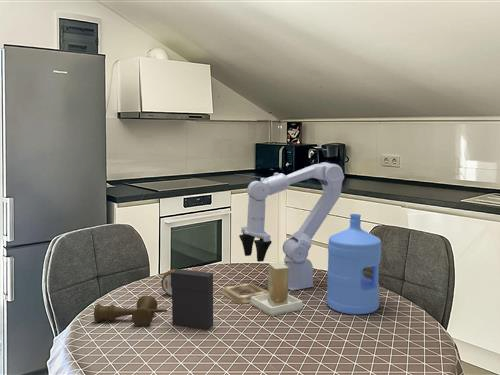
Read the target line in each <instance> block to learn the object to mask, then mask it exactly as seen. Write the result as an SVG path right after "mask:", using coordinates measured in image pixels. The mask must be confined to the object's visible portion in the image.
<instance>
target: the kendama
mask: <svg viewBox="0 0 500 375" xmlns="http://www.w3.org/2000/svg"><path fill="white" fill-rule="evenodd" d="M167 312H168V309H165V308H162V309H160V308H158V301H157V299H156V297H153V296H151V295H142V296H141V297H139V298H138V299H137V301H136V308H125V307H117V306H115V304H110V305H109V306H108V305H107V306H106V305H101V304H100V303H97V304H96V305H95V306H94V310H93V319H94V321H95V323H96V322H98V323H100V322H101V321H103V320H108V321H109V320H110V321H111V322H112V321H114V319H118V318H121V317H126V316H131V320H132V323H133V324H134V326H136V327H138V328H139V327H140V328H145V327H146V328H147V327H148V326H150V325H151V323H152V321H153V315H154V314H156V313H157V314H158V313H159V314H160V313H167Z"/></svg>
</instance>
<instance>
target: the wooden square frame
mask: <svg viewBox="0 0 500 375" xmlns="http://www.w3.org/2000/svg"><path fill="white" fill-rule="evenodd" d="M249 291H250V292H251V293H248V294H245V295H244V294H243V295H240V294H239V293H245V292H249ZM267 293H268V290H266V289H264V288H262V287H260V286H258V285H257V284H254V283H252V282H248V283H243V284H237V285H231V286H226V287H222V288H221V295H222V296H225V297H226V298H228V299H230V300H231V301H233V302H235V303H236V304H238V305H243V304H247V303H248V304H249V303H251V297H252V296H257V295H262V294H267Z"/></svg>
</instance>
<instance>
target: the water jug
mask: <svg viewBox="0 0 500 375" xmlns="http://www.w3.org/2000/svg"><path fill="white" fill-rule="evenodd" d="M349 216H350V218H349V219H350V220H349V227H348V229H347V228H346V229H344V230H341V231H340V232H337V233H333V234H332V235H330V236H329V237H328V243H327V251H328V253H327V255H328V256H327V258H328V259H327V274H326V276H327V285H326V286H327V289H326V290H327V292H326V304H327V306H328V307H329V308H330V309H332V310H334V311H336V312H338V313H341V314H348V315H368V314H372V313H374V312H376V311H377V310H378V309H379V308H380V283H379V272H380V271H379V270H380V267H379V266H380V264H381V255H382V240H381V239H380V238H379V237H378V236H376V235H373V234H372V233H370V232H368V231H366V230H364V229H362V227H361V222H362V221H361V216H362V215H361V214H359V213H350V214H349ZM365 268H372V274H371V276H372V277H371V278H370V277H369V278H368V277H366V276H365V275H364V269H365Z"/></svg>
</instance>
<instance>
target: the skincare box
mask: <svg viewBox="0 0 500 375" xmlns="http://www.w3.org/2000/svg"><path fill="white" fill-rule="evenodd" d="M288 274H289V268H288V267H287V266H286V265H284V262H281V261H279V262H269V263H268V276H267V277H268V280H267V281H268V282H267V283H268V284H267V286H268V287H267V288H268V289H267V291H268V302H269V303H270V304H271V305H272V306H273V307H275V306H280V305H284V304H288V294H289V289H288Z"/></svg>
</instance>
